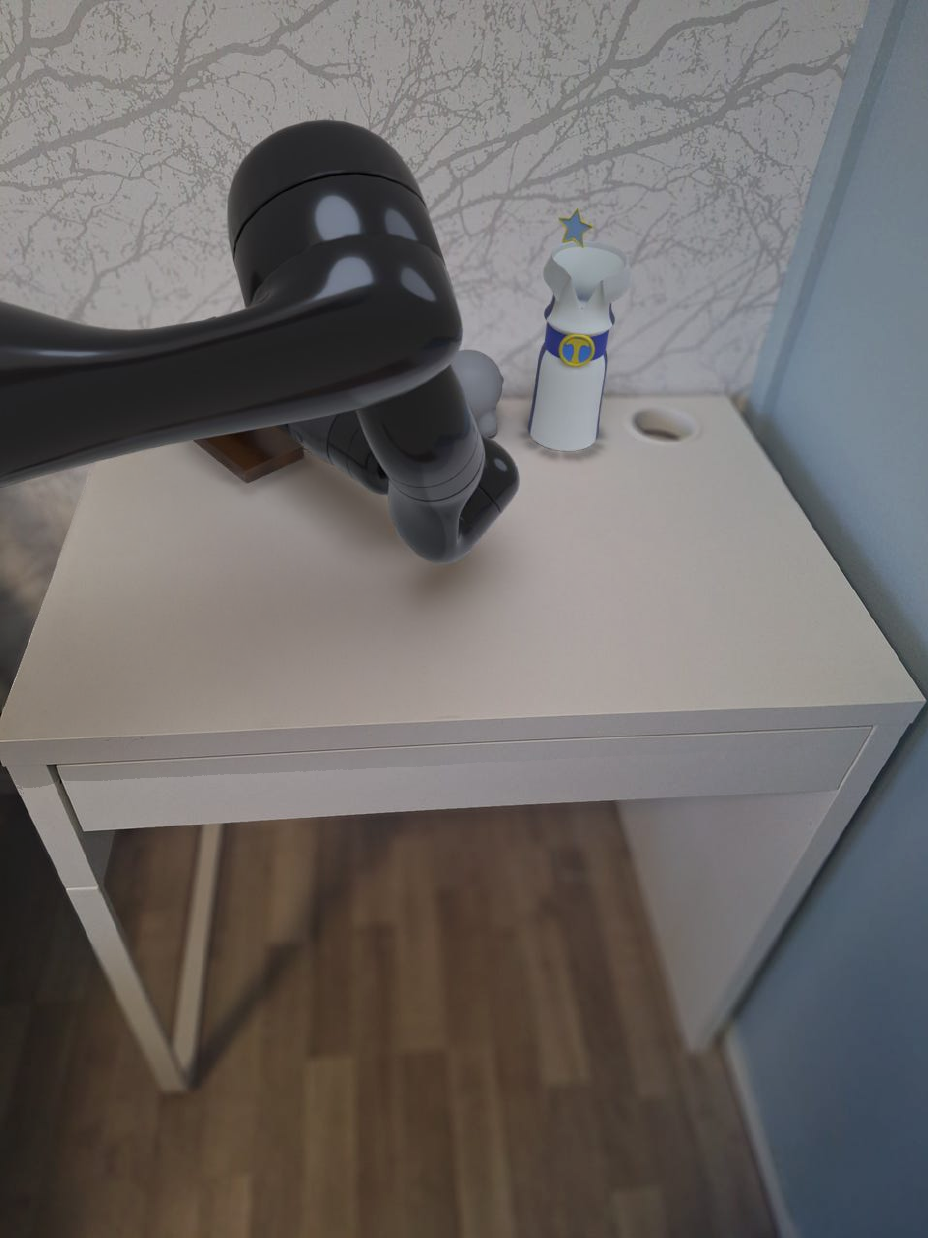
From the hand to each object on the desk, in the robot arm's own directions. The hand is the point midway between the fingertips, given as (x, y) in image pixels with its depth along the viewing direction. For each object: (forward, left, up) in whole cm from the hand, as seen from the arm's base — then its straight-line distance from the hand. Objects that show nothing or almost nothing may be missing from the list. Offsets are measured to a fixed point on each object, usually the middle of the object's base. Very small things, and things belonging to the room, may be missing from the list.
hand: (217, 336), depth 89 cm
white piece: (+34, +10, -11) cm, 37 cm away
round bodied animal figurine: (+21, +8, -11) cm, 25 cm away
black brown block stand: (+1, -1, -11) cm, 11 cm away
